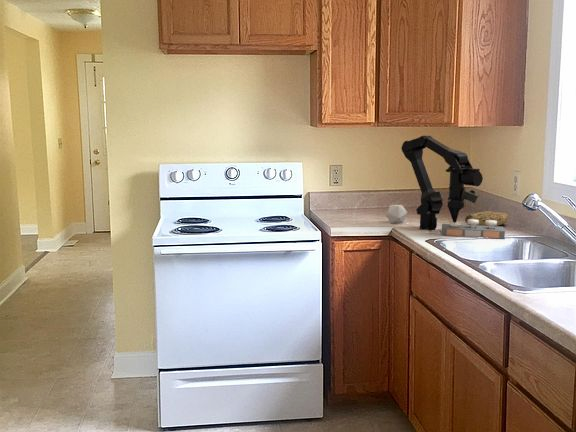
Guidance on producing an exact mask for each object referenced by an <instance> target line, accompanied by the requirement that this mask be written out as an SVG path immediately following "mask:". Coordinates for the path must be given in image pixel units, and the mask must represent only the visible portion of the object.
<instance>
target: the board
mask: <svg viewBox="0 0 576 432" xmlns="http://www.w3.org/2000/svg"><path fill="white" fill-rule="evenodd" d="M440 232H441V236H442V237H443V236H445V237H459V238H460V237H462V238H478V237H488V238H487V239H496V240H498V239H500V240H505V237H506V235H505V234H506V230H505V228H504V226H494V228H493V229H488V226H478V225H475V228H470V225H468V224H460V227H451V226H449V223H441V231H440Z"/></svg>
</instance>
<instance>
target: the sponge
mask: <svg viewBox="0 0 576 432" xmlns="http://www.w3.org/2000/svg"><path fill="white" fill-rule="evenodd" d="M464 218H465V219H464V221H465V222H466V224H467V220H468V219H476V220H479V224H477V225H478V226H488V225H485V221H486V220H495V221H497V225H495V226H498V227H500V226H502V225H503V224H506V223H507V222H508V220H509V214H507V213H506V212H497V211H490V210H488V211H487V210H485V211H477V212H475V213H471V214H470V215H465V217H464ZM467 225H470V224H467Z"/></svg>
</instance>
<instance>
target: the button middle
mask: <svg viewBox="0 0 576 432" xmlns="http://www.w3.org/2000/svg"><path fill="white" fill-rule="evenodd" d="M468 224H470V228H475V225H477V224H479V220H476V219H468V220H467V223H466V225H468Z"/></svg>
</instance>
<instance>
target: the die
mask: <svg viewBox="0 0 576 432" xmlns="http://www.w3.org/2000/svg"><path fill="white" fill-rule="evenodd" d="M407 216H408V211H407V210H406V208H405V207H404V206H403V204H389V206H388V209H387V211H386V214H385V217H386V218H387V219H388V221H389V223H390V224H393V225H394V224H395V223H403V224H404V222H405V220H406V217H407ZM395 225H396V224H395Z"/></svg>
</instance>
